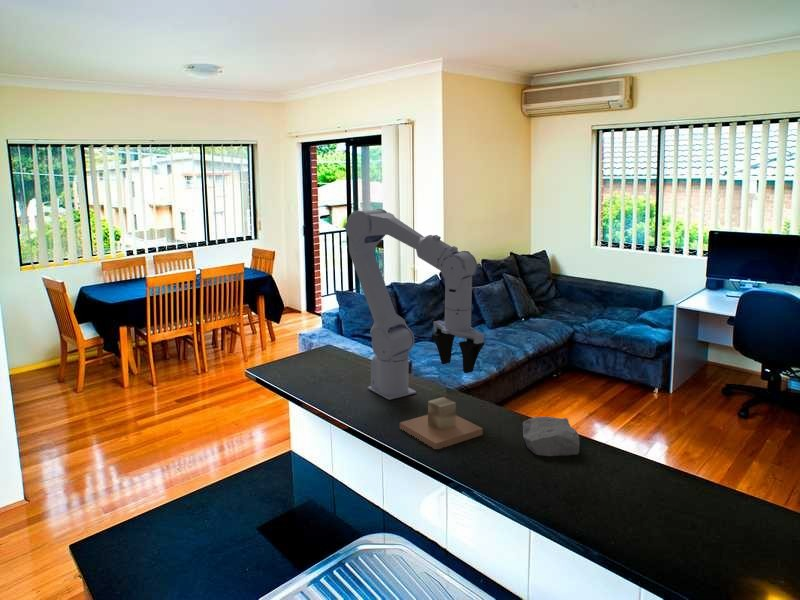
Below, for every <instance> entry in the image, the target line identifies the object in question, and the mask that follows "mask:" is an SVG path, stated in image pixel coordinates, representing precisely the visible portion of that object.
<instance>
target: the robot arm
mask: <svg viewBox="0 0 800 600" xmlns="http://www.w3.org/2000/svg"><path fill="white" fill-rule="evenodd" d="M344 229H345V232H346V235H347V237H348V253H349V255H350V258H351V259H350V260H352V261H351V262H352V264H353V266H354V269H355V273H356V275H357V278H358V280H359V283H360V286H361V288H362V289H361V290H362V292H363V294H364V298H365V300H366V303H367V305H368V307H369V311H370V314H371V316H372V319H373V324H372V326H371V328H370V331H369V334H370V336H371V348H372V351H373V353H374V356H373V357H372V359H371V362H370V385H369V386H367V389H368V390H369V391H372V392H373V393H375V394H378V395H379V396H381V397H383V398H384V399H387V400H389V401H390V400H394V399H398V398H402V397H407V396H410V395H414V394H416V393H417V391H416V390H414V389H412V388H410V387H409V357H410V350H412V348H413V347H414V344H415V335H414V332H413V331H412V330H411V329H410V327H409V326H408V325H407V323H406V320H405V318H403V317H402V316H400V315H399V314H398V313H397V312H396V309H395V307H394V305H393V302H392V300H391V295H390V293H389V290H388V288H387V285H386V282H385V279H384V277H383V274H382V272H381V269H380V266H379V264H378V263H379V262H378V260H377V257H376V255H375V250H376V248H377V246H378V245H379V243H380V242H381V241H382V240H383V239H384V238H385V237H386V236H389V237H391V238H394V239H396V240H397V241H399V242H401V243H403V244H405V245H407V246H408V247H411V248H412V249H414V250H415V251H416V256H417V257H418V259H421V260H422V261H424V262H425V263H427V264H428V265H430V266H432V267H434V268H435V269H436V270H439V272H440V273H441V276H442V277H443V279H444V286H445V288H444V289H445V290H444V291H445V292H444V299H445V300H444V320H436V321H435V320H434V321H433V330H434V331H435V332H434V333H433V332H432V333H431V338H432V339H433V341H434V343H435V346H436V347H437V352H438V355H439V359H440V363H441V364H442V365H445V364H446V365H447V364H450V363H451V360H452V352H453V350H452V349H453V345H454V344H453V343H454V340H455V337H458V338H461V339H464V340H463V341H460V342H458V345H459V348H460V351H461V355H462V369H463V370H462V371H463V373H464V374H469V373H470V374H471V373H473V372H474V368H475V365H476V362H477V358H478V357H479V354H480V352H481V351H482V349H483V348H484V346H485V341H484V337H485V335H484V333H482V332H480V331H478V330H476V329H475V328H473V327H472V303H473V302H472V299H473V297H472V296H473V294H472V293H473V292H472V290H473V275H475V273H476V271H477V268H478V262H477V260H476V257H475V256H474V255H473V254H472V253H471V252H470V251H469V250H461V251H459V250H458V246H455V245H453V246H451V245H450V244H448V243H446V242H445V241H443V240H441V238H442V237H441V236H439V235H438V234H433V235H432V234H428V235H425V236H423V235H422V234H421V233H420V232H418V231H416V230H415V229H413V228H412V227H410V226H409V225H408V224H405V223H404V221H403V222H402V221H401V219H398V218H397V217H396V216H395V215H394V214H393V213H391V212H388V211H386V209H383V208H377V209H369V210H354V211H352V212H351V213H350V214H349V216H348V217H347V220H346V223H345V225H344Z"/></svg>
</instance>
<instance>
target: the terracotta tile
mask: <svg viewBox="0 0 800 600" xmlns="http://www.w3.org/2000/svg"><path fill="white" fill-rule="evenodd" d="M401 429H402V430H401ZM399 430H401V431H403V430H404V431H405V432H404V431H403V432H404V433H406V432H407V433H406V434H408V435H409V436H411V435H412V436H411V437H413V436H414V437H413V438H415V439H416V438H417V440H418V439H419V440H418V441H419V442H421V441H422V442H421V443H423V442H424V443H423V444H425V445H426V444H427V445H426V446H428V447H429V448H431V447H432V448H431V449H433V450H435V449H438V450H441V449H444V448H447V447H449V446H452V445H457V444H459V443H462V442H464V441H468V440H472V439H473V438H474V439H475V438H477V437H480V436H483V433H484V432H483V430H484V428H482V427H481V426H479V425H477V424H474V423H473V422H471V421H469V420H467V419H465V418H462V417H461V416H458V415H457V414H456V426H454V427H451V428H448V429H445V430H441V431H440V430H438V429H436V428H434V427H432V426H430V425H429V424H428V414H424V415H422V416H418V417H414V418H411V419H407V420H403V421H401V422H399ZM443 447H444V448H443Z"/></svg>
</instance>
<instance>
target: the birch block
mask: <svg viewBox="0 0 800 600" xmlns="http://www.w3.org/2000/svg"><path fill="white" fill-rule="evenodd" d="M456 410H457V402H455V401H453V400H450V399H449V398H447V397H445V396H442V397H438V398H433V399H431V400H428V401H427V415H428V424H429V425H430V426H432V427H434V428H436V429H438V430H440V431H441V430H445V429H448V428H451V427H454V426H456V415H457V413H456V412H457V411H456Z"/></svg>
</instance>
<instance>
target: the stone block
mask: <svg viewBox="0 0 800 600" xmlns="http://www.w3.org/2000/svg"><path fill="white" fill-rule="evenodd" d="M522 435H523V440H524V442H525V444H526V447H527V449H528V450H530V452H532V453H533V454H535V455H537V456H545V457H554V456H555V457H556V456H557V457H558V456H578V455H579V453H580V447H581V446H580V443H581V442H580V436H579V432H578V431H577V430H576V429H575V428H574V427H572V426H571V424H570V421H569V419H568V418H567V417H564V418H559V417H554V416H553V417H552V416H536V417H532V418H528V419H526V420H524V421H523V422H522Z"/></svg>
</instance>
